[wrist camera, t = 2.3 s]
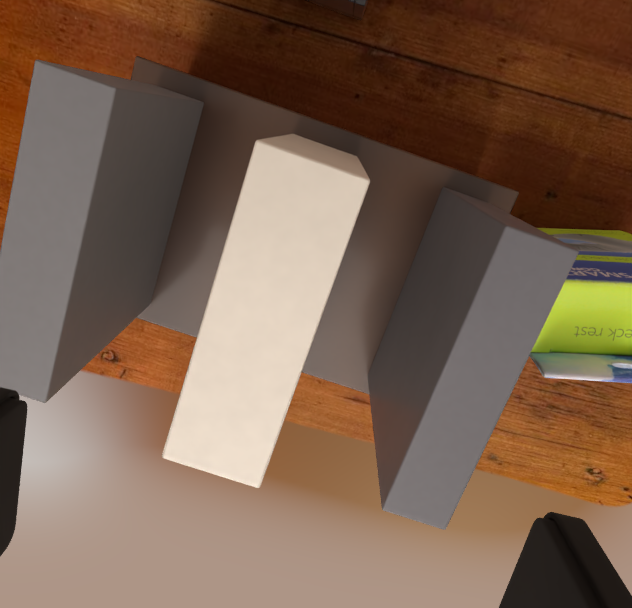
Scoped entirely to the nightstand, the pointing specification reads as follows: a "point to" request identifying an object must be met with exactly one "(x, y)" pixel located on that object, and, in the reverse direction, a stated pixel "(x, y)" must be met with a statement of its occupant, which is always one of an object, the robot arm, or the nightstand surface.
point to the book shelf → (365, 241)
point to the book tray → (344, 7)
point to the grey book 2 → (457, 349)
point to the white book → (265, 305)
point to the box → (590, 311)
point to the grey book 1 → (86, 218)
